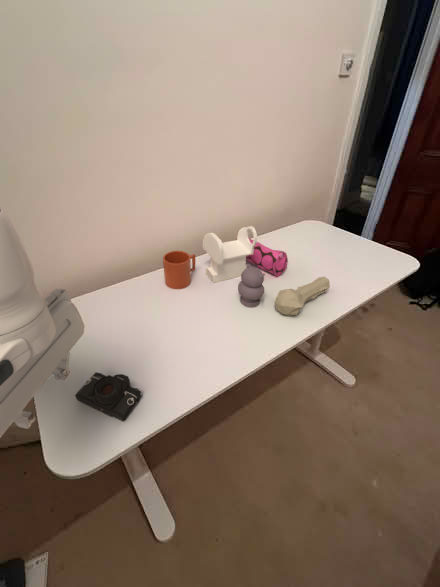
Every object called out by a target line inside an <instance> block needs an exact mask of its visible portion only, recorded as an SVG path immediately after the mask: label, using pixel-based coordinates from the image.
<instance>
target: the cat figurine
mask: <svg viewBox="0 0 440 587" xmlns="http://www.w3.org/2000/svg"><path fill="white" fill-rule="evenodd" d="M246 265H247V267H246V269H245V270H244V271H243V272H242V274H241V276H240V280H241V281H240V282H239V283H238V285H237V291H238V294H239V296H240V297H239V303H240V304H241V305H242V306H244V307H246V308H257V307H258V306H259V305H260V304H261V298H263V296H264V294H265V286H264V285H263V284H264V282H265V275H266V273H264V272H262V270H261V269H260V268H257V267H255V266H251V264H250V263H247V264H246Z"/></svg>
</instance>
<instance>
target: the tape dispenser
mask: <svg viewBox="0 0 440 587" xmlns="http://www.w3.org/2000/svg"><path fill="white" fill-rule="evenodd" d="M249 231H251V233H252V236H253V240H254V241H253V243H252V244H251V243H250V241H249V238H250V237H249V238H248V236H249ZM236 239H237V240H236ZM236 239H235V240H230V241H225V242H223V241H222V240H221V238H220V237H219V236H218V235H217V234H216V233H215V232H208V233H205V234H204V236H203V240H202V249H203V250H204V251H205V253H207V255H208V256H209V257H210V264H209V266H206V267H205V275H206V276H207V277H208V279H209V280H210V281H211V282H212V284H214V283H218V282H223V281H227V280H230V279H236V278H239V277H240V278H241V274H242V272H243V271H244V270H245V269H246V267H247V264H246V263H247V260H246V255H251V254H253V252H254V246H255V245H256V243H257V242H258V233H257V231H256V228H255V227H254V226H253V225H249V226H243V227H241V228H240V229H239V230H238V233H237V238H236Z"/></svg>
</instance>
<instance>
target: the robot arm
mask: <svg viewBox="0 0 440 587" xmlns="http://www.w3.org/2000/svg"><path fill="white" fill-rule="evenodd" d="M34 276H35V270H34V267H33V264H32V261H31V259H30V256H29V254H28V252H27V250H26V247H25V245H24V243H23V241H22V238H21V236H20V235H19V232H18V231H17V229H16V227H15V225H14V224H13V222H12V220H11V219H10V217H9V216H8V214H7V213H6V212H5V210H3V208H2V207H0V439H1V438H2V436H3V435H4V434H5V433H6V432H7V430H8V429H9V428H10V426H11V425H12V424H13V423H14V424H15V425H16V426H17V427H18V428H22V429H27V430H28V429H30V428H31V426H32V424H33V423H34V422H35V420H36V416H35V414H34V412H32V411H26V410H24V409H25V408H26V407H27V405H28V404H29V403H30V402H31V400H32V399H33V398H34V396H35V395H36V394H37V393H38V392H39V390H40V389H41V388H42V387H43V385H44V384H45V383H46V381H48V379H49V378H50V376H51V375H53V377H54V379H56V380H57V381H58V380H61V381H65V380H66V379H67V378H68V376H69V375H70V373H71V372H70V368H69V362H70V356H71V350H72V349H73V348H74V346H75V345H76V344H77V343H78V341H80V339H81V338H82V336H83V335H84V334H85V333H84V332H85V323H84V321H83V319H82V316H81V314H80V312H79V309H78V308H77V306H76V305H75V304H74V303H73V302H72V299H71V296H70V292H69V291H68V290H67V289H65V288H55V289H53V290H52V291H50V293H49V294H48V295H47V296H46V297H45V296H44V294H43V293H42V291H41V290H40V289H39V287H37V285H36V283H35V277H34Z"/></svg>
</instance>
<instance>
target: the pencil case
mask: <svg viewBox="0 0 440 587" xmlns="http://www.w3.org/2000/svg"><path fill="white" fill-rule="evenodd" d="M248 238H249V241H250V243H251V244H252V243H253V241H254V239H251V238H250V236H249V235H248ZM235 240H237V238H236V239H235ZM288 260H289V259H288V255H287V253H286V252H285V251H283V250H278V249H272V248H270V247H268V246H265V245H264V244H262V243H261V242H259V241H257V243H256V245H255V246H254V252H253V254H251V255H246V261H248V262H249V263H251V264H253V265H255V266H256V267H258V268H259V269H260V270H263V271H265V272H267V273H269V274H272V275H274V276H276V277H279V276H281V275H282V274H283V273H284V272H285V271H286V269H287V267H288V265H289V264H288V262H289V261H288Z"/></svg>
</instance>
